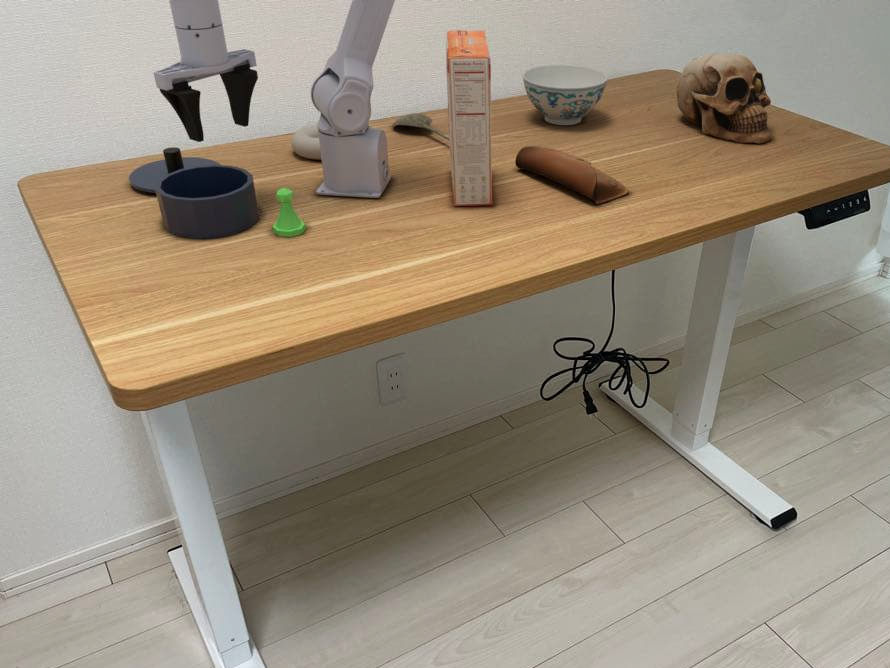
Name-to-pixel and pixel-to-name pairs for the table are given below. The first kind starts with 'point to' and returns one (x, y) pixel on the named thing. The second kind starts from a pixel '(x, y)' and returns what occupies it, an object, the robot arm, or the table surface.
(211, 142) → the table surface
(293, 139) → the donut
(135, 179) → the pan lid
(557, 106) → the chinaware
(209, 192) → the pan
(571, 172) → the sunglasses case
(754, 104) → the beige skull model
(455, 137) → the cracker box
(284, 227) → the game piece
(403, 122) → the soupspoon
